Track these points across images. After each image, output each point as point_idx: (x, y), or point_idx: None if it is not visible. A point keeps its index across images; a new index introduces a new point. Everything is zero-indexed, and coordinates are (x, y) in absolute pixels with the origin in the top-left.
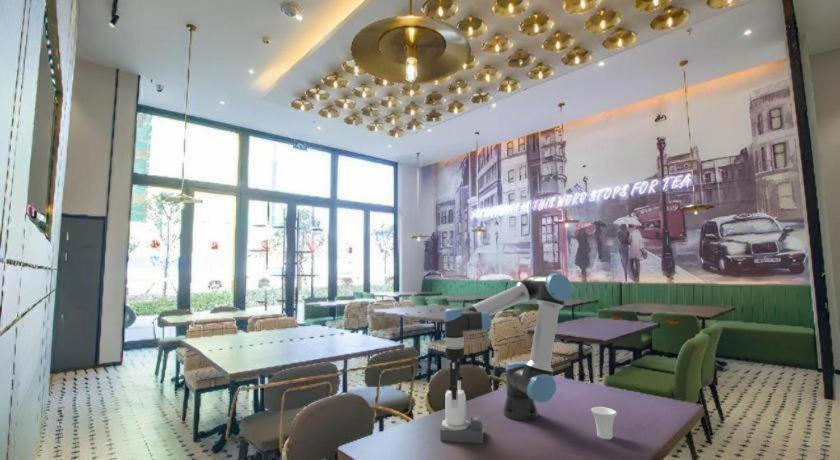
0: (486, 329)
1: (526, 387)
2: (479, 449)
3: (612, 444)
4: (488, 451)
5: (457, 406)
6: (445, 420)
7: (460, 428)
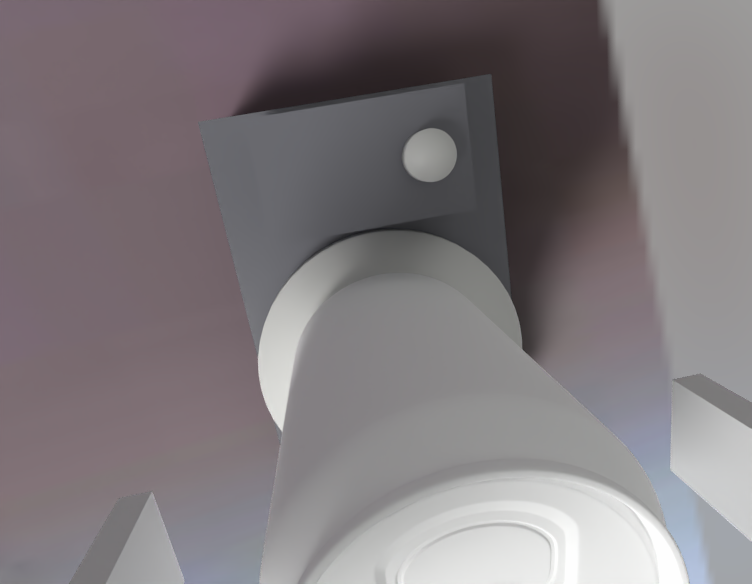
0: None
1: None
2: (570, 94)
3: None
4: (589, 15)
5: (720, 396)
6: None
7: (505, 289)
